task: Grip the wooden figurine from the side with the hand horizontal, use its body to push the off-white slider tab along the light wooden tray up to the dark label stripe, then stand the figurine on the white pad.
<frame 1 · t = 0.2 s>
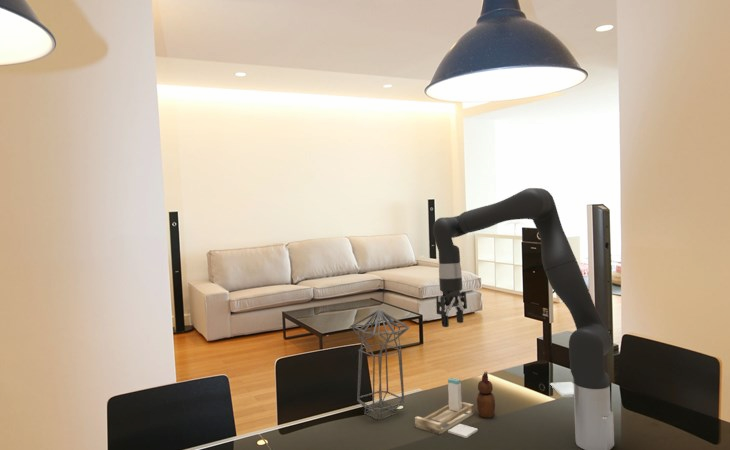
hand: (453, 324, 174), 29 cm above the table, tool pointing down, fingers open, 8 cm apart
wooden figurine: (486, 416, 168), on the table
light wooden tray: (445, 420, 165), on the table
hard drive: (567, 392, 187), on the table
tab: (454, 394, 170), point 6 cm above the table, slide at 0.0 cm
pad: (462, 431, 156), on the table
geometric lantern: (383, 414, 173), on the table
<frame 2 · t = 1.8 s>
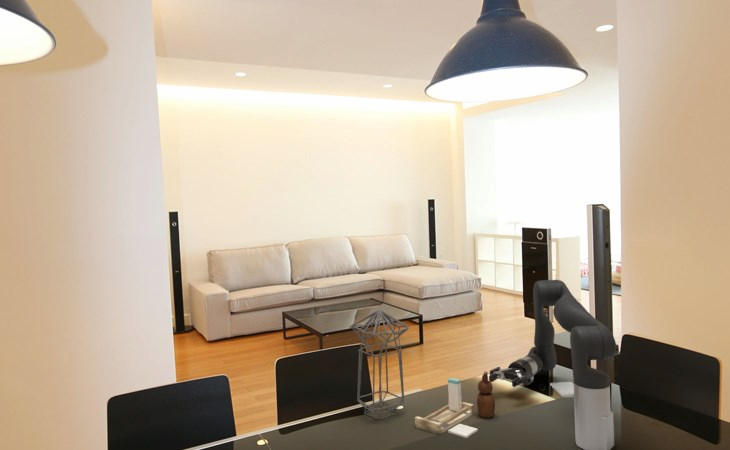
hand: (501, 381, 176), 8 cm above the table, tool horizontal, fingers open, 8 cm apart
nothing on the table moved.
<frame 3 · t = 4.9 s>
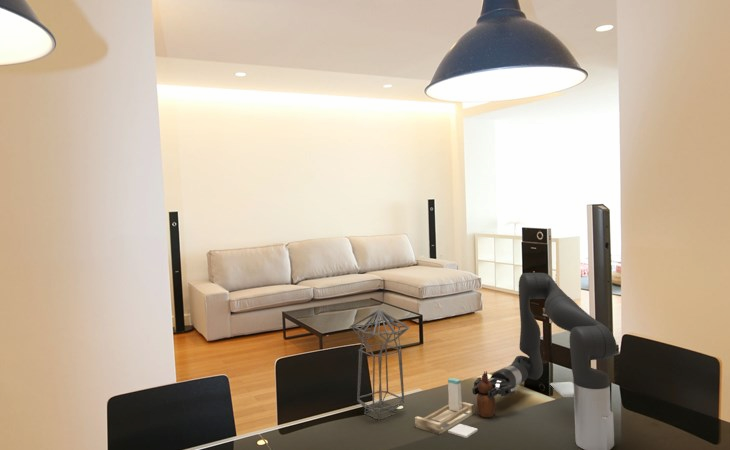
hand: (481, 393, 166), 8 cm above the table, tool horizontal, fingers closed on wooden figurine, 4 cm apart
wooden figurine: (486, 416, 168), on the table, touching gripper
everything else where it was.
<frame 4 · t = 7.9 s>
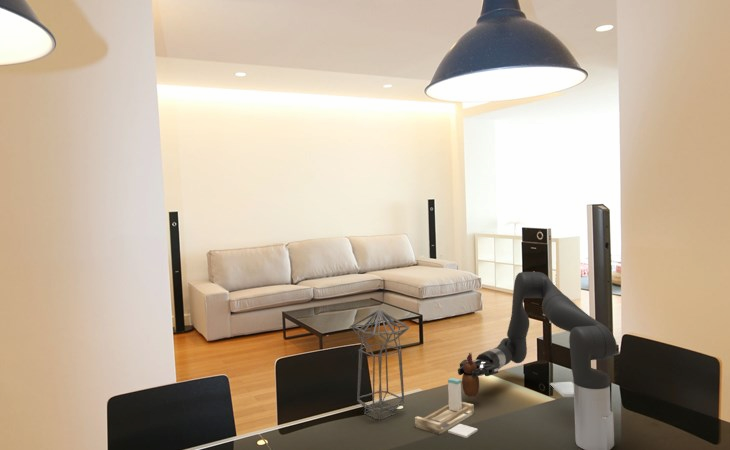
hand: (466, 373, 175), 12 cm above the table, tool horizontal, fingers closed on wooden figurine, 4 cm apart
wooden figurine: (471, 395, 177), point 3 cm above the table, touching gripper
everything else where it was.
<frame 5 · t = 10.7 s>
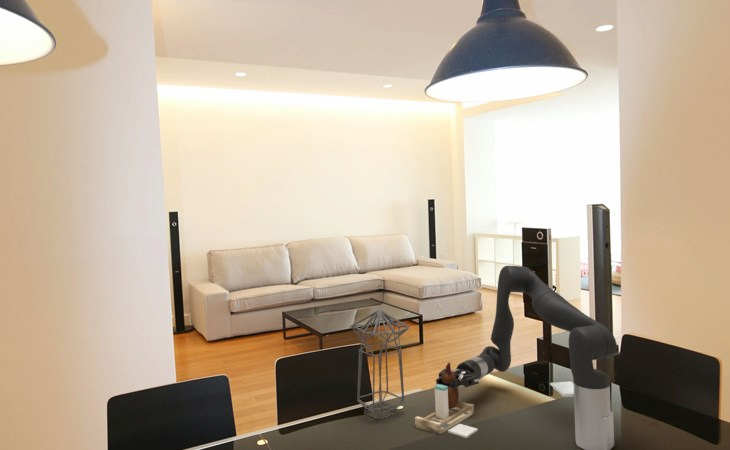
hand: (444, 384, 165), 12 cm above the table, tool horizontal, fingers closed on wooden figurine, 4 cm apart
wooden figurine: (450, 407, 167), point 3 cm above the table, touching gripper, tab
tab: (441, 401, 164), point 7 cm above the table, slide at 7.6 cm, touching wooden figurine
everything else where it was.
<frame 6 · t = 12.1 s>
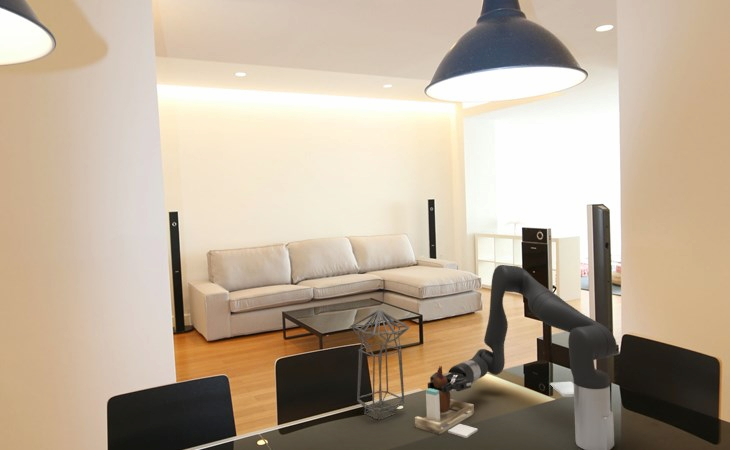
hand: (435, 388, 162), 12 cm above the table, tool horizontal, fingers closed on wooden figurine, 4 cm apart
wooden figurine: (441, 411, 164), point 3 cm above the table, touching gripper, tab
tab: (433, 406, 161), point 7 cm above the table, slide at 12.3 cm, touching wooden figurine
everything else where it was.
when the fingers open (9 cm above the table, at t = 17.2 s): wooden figurine stays where it is, resting on pad.
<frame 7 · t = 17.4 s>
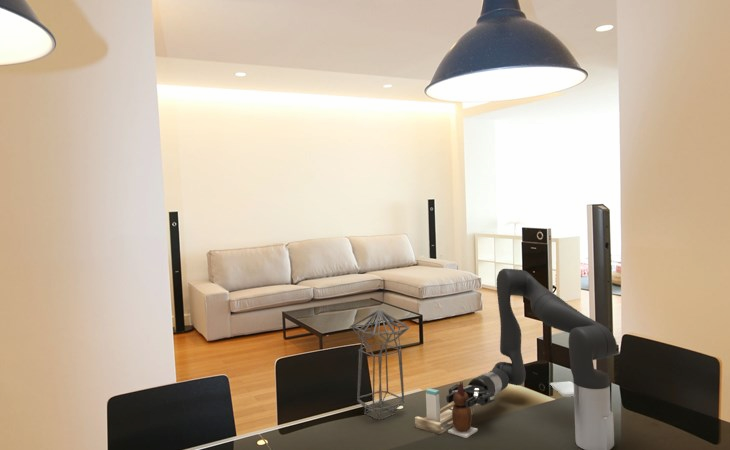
hand: (457, 402, 154), 10 cm above the table, tool horizontal, fingers open, 6 cm apart
wooden figurine: (462, 429, 157), resting on pad
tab: (432, 406, 161), point 7 cm above the table, slide at 12.4 cm
everything else where it was.
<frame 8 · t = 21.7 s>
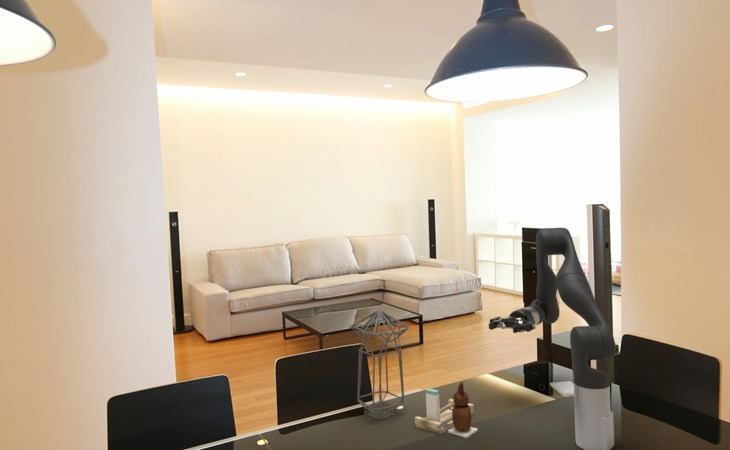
hand: (501, 328, 168), 28 cm above the table, tool horizontal, fingers open, 8 cm apart
nothing on the table moved.
at the end: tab slide at 12.4 cm; wooden figurine inside the target area (0.3 cm from its centre), resting on pad; wooden figurine tilted 0° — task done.
